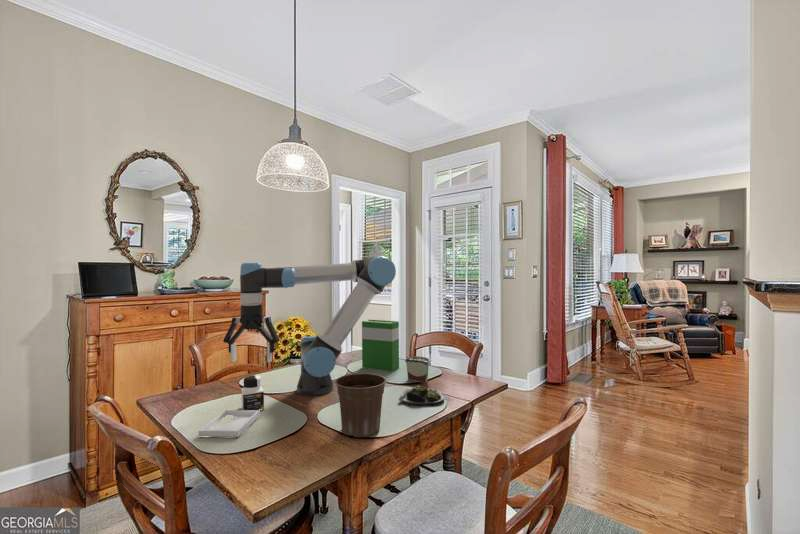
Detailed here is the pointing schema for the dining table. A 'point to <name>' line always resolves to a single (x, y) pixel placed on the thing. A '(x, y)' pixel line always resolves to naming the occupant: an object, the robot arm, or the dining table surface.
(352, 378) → the plant pot
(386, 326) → the cereal box
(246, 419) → the tray
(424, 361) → the food container
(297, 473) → the dining table surface
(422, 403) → the salad plate
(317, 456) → the dining table surface
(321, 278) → the robot arm
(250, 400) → the medicine bottle
